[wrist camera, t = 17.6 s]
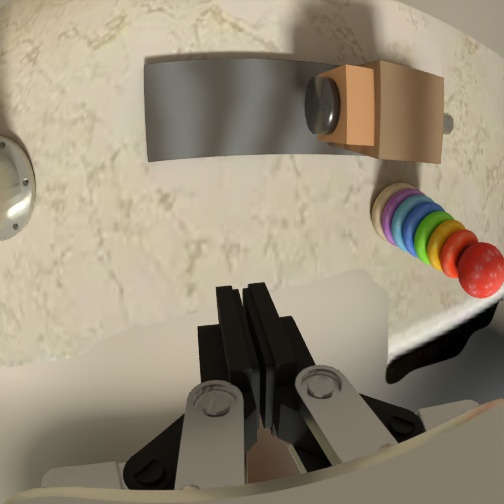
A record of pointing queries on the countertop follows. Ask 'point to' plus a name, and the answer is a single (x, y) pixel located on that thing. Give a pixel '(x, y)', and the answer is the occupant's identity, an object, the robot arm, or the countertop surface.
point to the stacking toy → (437, 239)
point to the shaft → (333, 107)
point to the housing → (281, 110)
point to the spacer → (353, 105)
